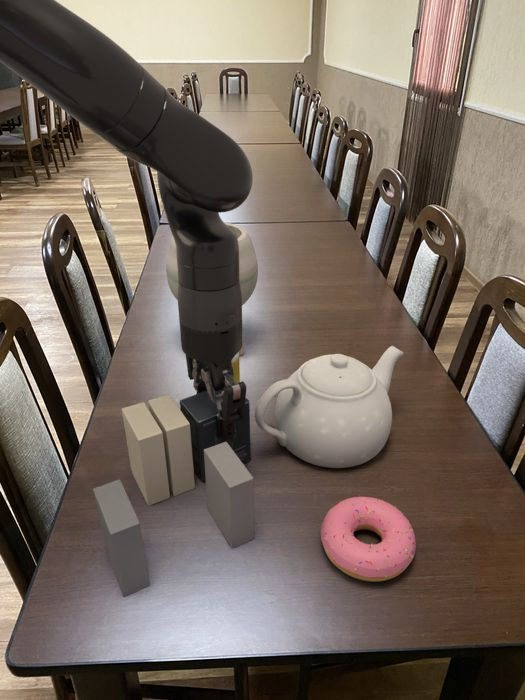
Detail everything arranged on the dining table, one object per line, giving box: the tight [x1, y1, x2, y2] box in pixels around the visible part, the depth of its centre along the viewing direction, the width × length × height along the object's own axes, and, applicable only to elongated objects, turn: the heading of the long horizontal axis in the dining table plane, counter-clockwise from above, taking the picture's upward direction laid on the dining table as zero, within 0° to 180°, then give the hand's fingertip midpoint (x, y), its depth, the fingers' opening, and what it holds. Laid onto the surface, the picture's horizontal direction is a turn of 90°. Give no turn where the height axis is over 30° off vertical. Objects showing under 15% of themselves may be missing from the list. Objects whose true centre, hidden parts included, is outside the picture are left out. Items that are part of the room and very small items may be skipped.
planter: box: [165, 221, 259, 356], centre depth 97 cm, size 16×16×22 cm
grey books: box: [92, 442, 255, 597], centre depth 61 cm, size 16×7×10 cm, turn 119°
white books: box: [121, 393, 196, 507], centre depth 70 cm, size 6×7×11 cm
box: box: [179, 389, 252, 482], centre depth 73 cm, size 8×6×11 cm
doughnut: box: [320, 494, 417, 583], centre depth 62 cm, size 11×11×4 cm
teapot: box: [254, 345, 405, 469], centre depth 78 cm, size 19×18×14 cm
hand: (215, 423), depth 73 cm, fingers closed on box, 5 cm apart
